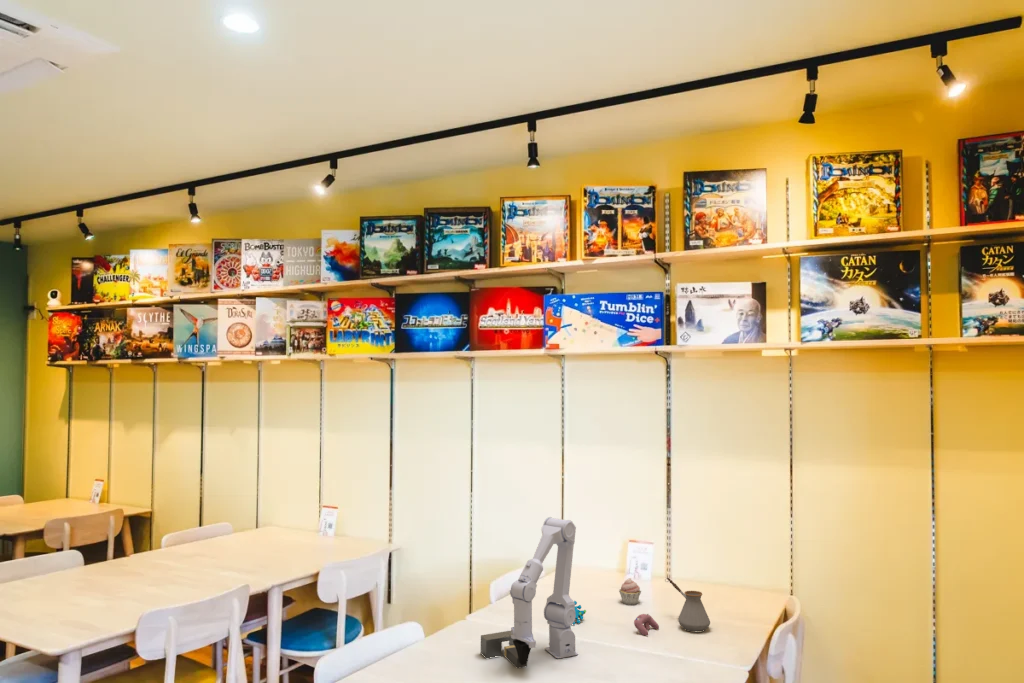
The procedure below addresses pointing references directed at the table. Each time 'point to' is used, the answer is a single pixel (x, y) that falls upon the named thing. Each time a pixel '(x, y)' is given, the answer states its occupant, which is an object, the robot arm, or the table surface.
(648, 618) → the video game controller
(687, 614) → the coffee pot
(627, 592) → the cupcake
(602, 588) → the table surface
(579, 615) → the spiky virus model
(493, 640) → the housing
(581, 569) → the table surface
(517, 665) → the grey rectangular bar
